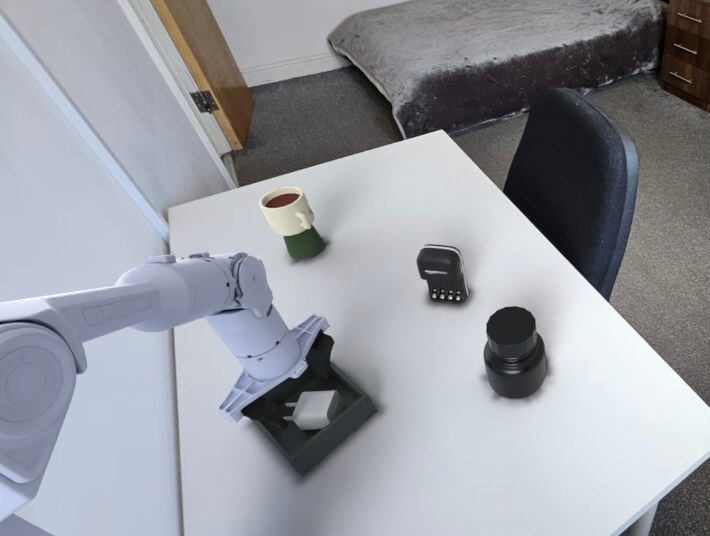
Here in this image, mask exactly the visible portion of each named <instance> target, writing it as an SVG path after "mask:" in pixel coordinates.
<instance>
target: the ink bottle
mask: <svg viewBox="0 0 710 536" xmlns="http://www.w3.org/2000/svg"><path fill="white" fill-rule="evenodd" d="M536 322H537V321H536V317H535V316H534V314H533V312H532V311H530V310H528V309H526V307H523V306H522V307H521V306H518V305H513V306H512V305H509V306H504V307H502V308H500V309H497V310H495V311H494V312H493V313H492V314H491V315H490V316H489V317H488V320H487V322H486V323H485V327H486V329H485V332H486V336H487V337H486V338H487V340H486V342H485V344H484V348H483V356H482V357H483V362H484V368H485V371H486V377H487V381H488V384H489V386H490V387H491V389H492V390H493V391H494V392H495V393H496V394H497V395H499V396H500V397H503V398H506V399H511V400H519V399H520V400H522V399H525V398H528V397H530V396H532V395H533V394H535V393H536V392H537V391H538V390H539V389H540V388H541V387H542V385H543V384H544V381H545V379H546V376H547V367H548V365H547V351H546V345H545V341H544V339H543V336H541V334H540V333H539V332H538V331H537V323H536Z"/></svg>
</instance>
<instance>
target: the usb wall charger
mask: <svg viewBox="0 0 710 536" xmlns="http://www.w3.org/2000/svg"><path fill="white" fill-rule="evenodd" d="M288 404H289V405H288ZM286 406H287V407H295V406H296V408H295V410H294V412H293V417H283V418H284V419H285V420H286V421H290V420H294V422H295V423H296V424H297V425H298V427H299V428H300V429H301V430H314V429H323V428H324V427H325V426H327V425H328V424H329V423H330V422H331V421H333V420H334V419H335V418H336V417H337V416H339V415H340V414H341V413H342V410H343V407H344V401H343V399H342V398H341V396H340V395H339V393H338V391H337V390H334V391H314V392H303V393H302V394H301V396H300V398H299V401H298V403H286Z"/></svg>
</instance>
